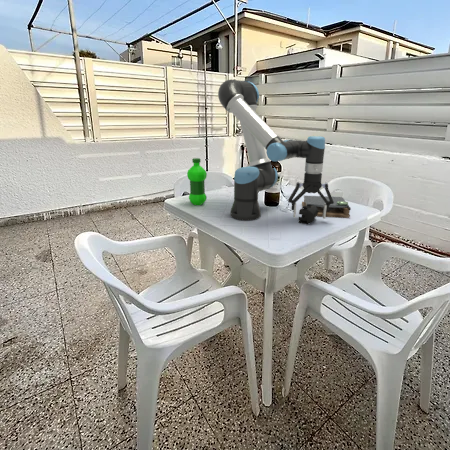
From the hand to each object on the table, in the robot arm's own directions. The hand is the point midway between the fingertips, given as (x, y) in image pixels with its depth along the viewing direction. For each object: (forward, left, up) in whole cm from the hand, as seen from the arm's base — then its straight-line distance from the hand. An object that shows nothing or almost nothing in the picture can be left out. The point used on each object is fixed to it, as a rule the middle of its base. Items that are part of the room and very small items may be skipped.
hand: (309, 217), depth 139 cm
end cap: (0, 0, -2) cm, 2 cm away
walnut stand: (+10, +17, -2) cm, 20 cm away
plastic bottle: (-58, +18, -2) cm, 61 cm away
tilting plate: (+10, +17, +3) cm, 20 cm away
